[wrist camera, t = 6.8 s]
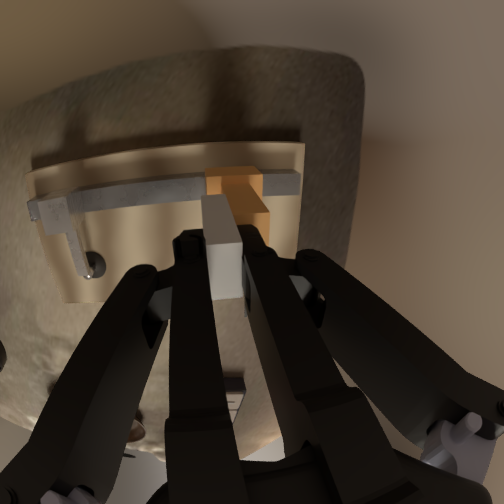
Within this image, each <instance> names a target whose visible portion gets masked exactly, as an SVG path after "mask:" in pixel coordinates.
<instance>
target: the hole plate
mask: <svg viewBox="0 0 504 504" xmlns="http://www.w3.org/2000/svg"><path fill="white" fill-rule="evenodd" d="M304 152H305V144H304V143H301V142H289V141H229V142H206V143H191V144H178V145H167V146H158V147H149V148H141V149H134V150H127V151H120V152H114V153H108V154H102V155H96V156H91V157H86V158H81V159H76V160H72V161H67V162H63V163H58V164H54V165H50V166H46V167H42V168H39V169H35V170H32V171H30V172H28V173H26V174H25V176H26V182H27V187H28V192H29V197H30V199H32V198H33V197H35V196H36V195H40V194H45V193H50V192H52V191H56V190H61V189H66V188H71V187H76V186H79V187H80V186H86V185H92V184H98V183H105V182H111V181H118V180H126V179H133V178H142V177H150V176H160V175H170V174H181V173H193V172H205V168H214V167H235V166H255V167H256V168H257V169H294V170H296V171H297V172H299V173H301V183H300V195H289V196H262V202H263V203H264V204H265V206H266V207H267V209H268V210H269V211H270V230H269V247H271V248H273V249H274V250H275V251H276V253H277V255H278V256H279V257H281V258H289V259H295V255H296V251H297V242H298V231H299V220H300V209H301V196H302V183H303V169H304ZM35 223H36V226H37V230H38V233H39V237H40V240H41V244H42V247H43V250H44V253H45V256H46V259H47V262H48V265H49V268H50V270H51V273H52V276H53V279H54V281H55V284H56V286H57V289H58V291H59V294H60V296H61V298H62V301H63V303H90V302H106V300H107V299H108V297H109V296H110V294H111V293H112V291H113V290H114V289H115V287H116V286H117V284H118V283H119V281H120V280H121V279H122V277H123V276H124V274H125V273H126V272H127V271H128V270H129V269H130V268H132V267H134V266H136V265H139V264H150V265H153V266H155V267H156V269H157V271H161V270H165V269H167V268H169V267H171V266H173V265H174V261H175V260H174V253H173V246H172V241H173V239H174V238H176V237H177V236H179V235H180V234H181V232H182V231H183V230H189V229H201V228H203V225H202V209H201V200H194V201H181V202H170V203H160V204H150V205H140V206H131V207H123V208H115V209H107V210H99V211H92V212H85V219H84V220H83V221H82V222H81V223H80V225H79V230H80V234H81V238H82V242H83V246H84V250H85V253H86V257H87V260H88V263H92V264H94V265H95V267H96V269H95V271H94V274H93V276H92V278H91V279H90V280H86V279H85V278H84V277H83V276H78V274H77V271H76V268H75V265H74V261H73V258H72V255H71V252H70V248H69V245H68V241H67V238H66V234H65V233H61V234H54V235H47V236H46V235H45V231H44V227H43V224H42V220H36V221H35Z"/></svg>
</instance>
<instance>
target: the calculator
mask: <svg viewBox="0 0 504 504" xmlns="http://www.w3.org/2000/svg"><path fill="white" fill-rule="evenodd" d="M223 379H224V385H225V391H226V396H227V402H228V408H229V413H230V416H231V420H232V425H233V423H234V420H235V418H236V416H237V413H238V411H239V408H240V406H241V403H242V401H243V398H244V396H245V393H246V387H245V383H244V379H243V378H223Z"/></svg>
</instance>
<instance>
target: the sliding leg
mask: <svg viewBox="0 0 504 504" xmlns="http://www.w3.org/2000/svg"><path fill="white" fill-rule="evenodd" d="M205 183H206V195H215V194H225V195H226V198H227V201H228V203H229V206H230V209H231V212H232V214H233V217H234V220H235V223H236V225H245V224H252V225H254V226H255V227H257V228H258V230H259V232H260V234H261V236H262V238H263V240H264V242H265V244H266V246H268V247H269V230H270V211H269V210H268V209H267V207H266V206H265V204H264V203H263V202H262V189H263V174H262V173H261V172H260V171H259V170H258V169H257V168H256V167H255V166H235V167H214V168H205Z"/></svg>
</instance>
